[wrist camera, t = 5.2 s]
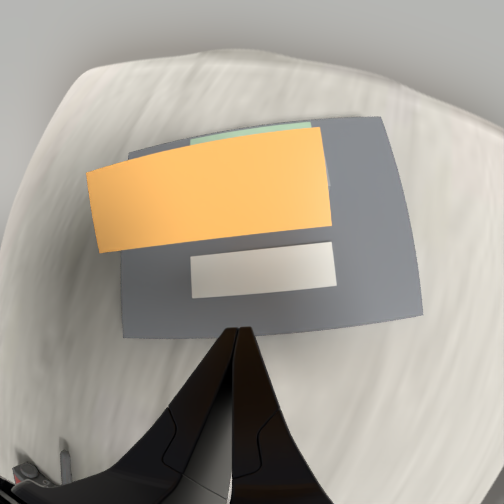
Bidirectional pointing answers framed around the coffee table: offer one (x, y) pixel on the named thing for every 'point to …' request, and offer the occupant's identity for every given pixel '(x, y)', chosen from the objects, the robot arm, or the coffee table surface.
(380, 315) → the box
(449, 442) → the coffee table surface
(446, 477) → the coffee table surface
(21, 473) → the walkie-talkie
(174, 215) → the breaker lever
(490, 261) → the coffee table surface
